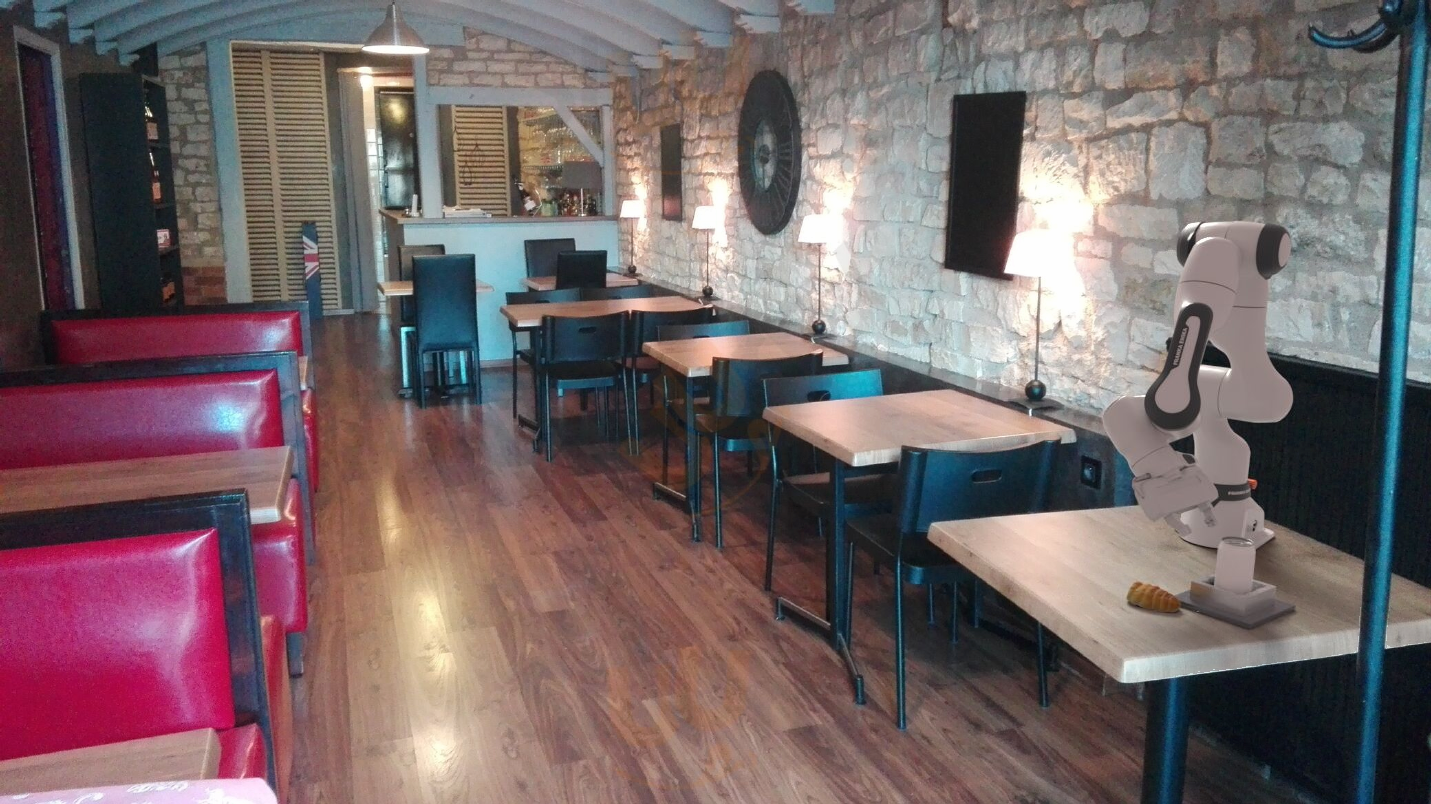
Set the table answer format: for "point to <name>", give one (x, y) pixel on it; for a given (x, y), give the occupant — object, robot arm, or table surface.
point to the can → (1235, 565)
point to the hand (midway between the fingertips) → (1201, 530)
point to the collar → (1234, 602)
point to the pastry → (1152, 598)
